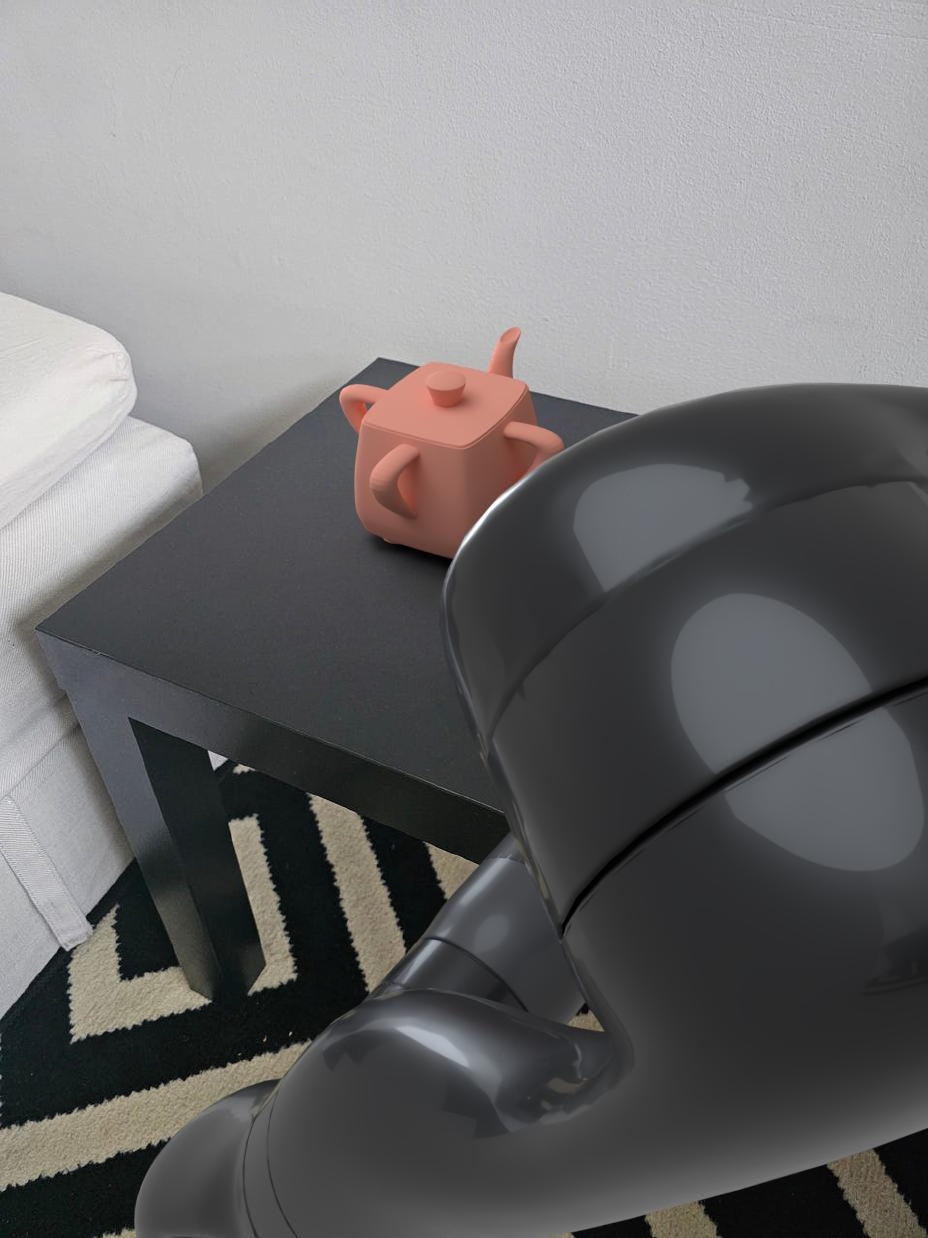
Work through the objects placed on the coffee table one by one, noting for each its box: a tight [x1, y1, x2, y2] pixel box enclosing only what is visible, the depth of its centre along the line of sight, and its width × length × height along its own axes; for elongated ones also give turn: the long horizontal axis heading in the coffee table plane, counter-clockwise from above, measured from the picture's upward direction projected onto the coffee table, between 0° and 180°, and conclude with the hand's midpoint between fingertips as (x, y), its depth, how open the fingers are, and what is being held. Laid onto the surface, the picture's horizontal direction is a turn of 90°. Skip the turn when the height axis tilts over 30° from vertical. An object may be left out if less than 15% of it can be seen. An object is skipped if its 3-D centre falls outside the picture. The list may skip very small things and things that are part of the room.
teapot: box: [339, 326, 565, 560], centre depth 78 cm, size 17×16×13 cm
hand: (704, 720), depth 56 cm, fingers open, 8 cm apart
